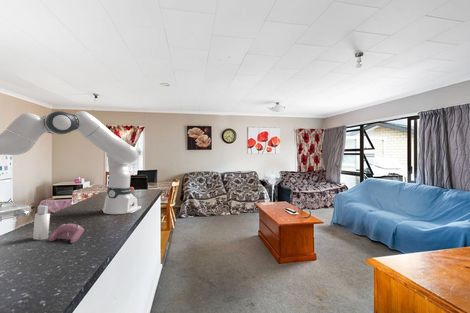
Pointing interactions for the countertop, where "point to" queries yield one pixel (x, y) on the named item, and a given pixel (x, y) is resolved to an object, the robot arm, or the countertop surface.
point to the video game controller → (64, 231)
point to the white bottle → (41, 223)
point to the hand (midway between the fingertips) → (14, 216)
